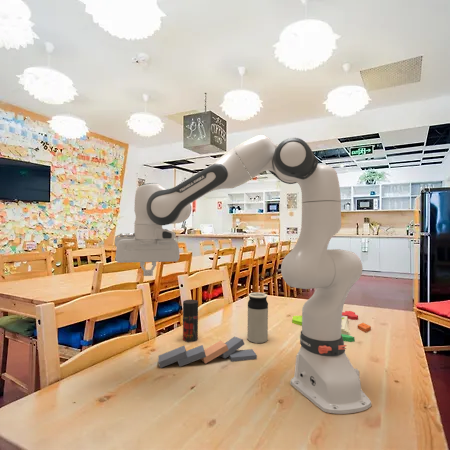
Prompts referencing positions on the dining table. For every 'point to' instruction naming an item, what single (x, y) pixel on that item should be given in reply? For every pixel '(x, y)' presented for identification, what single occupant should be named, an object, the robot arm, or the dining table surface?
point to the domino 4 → (232, 346)
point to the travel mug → (257, 318)
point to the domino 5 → (243, 355)
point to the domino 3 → (214, 351)
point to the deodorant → (190, 320)
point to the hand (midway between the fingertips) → (148, 275)
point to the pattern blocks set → (342, 325)
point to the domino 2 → (193, 355)
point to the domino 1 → (172, 356)
